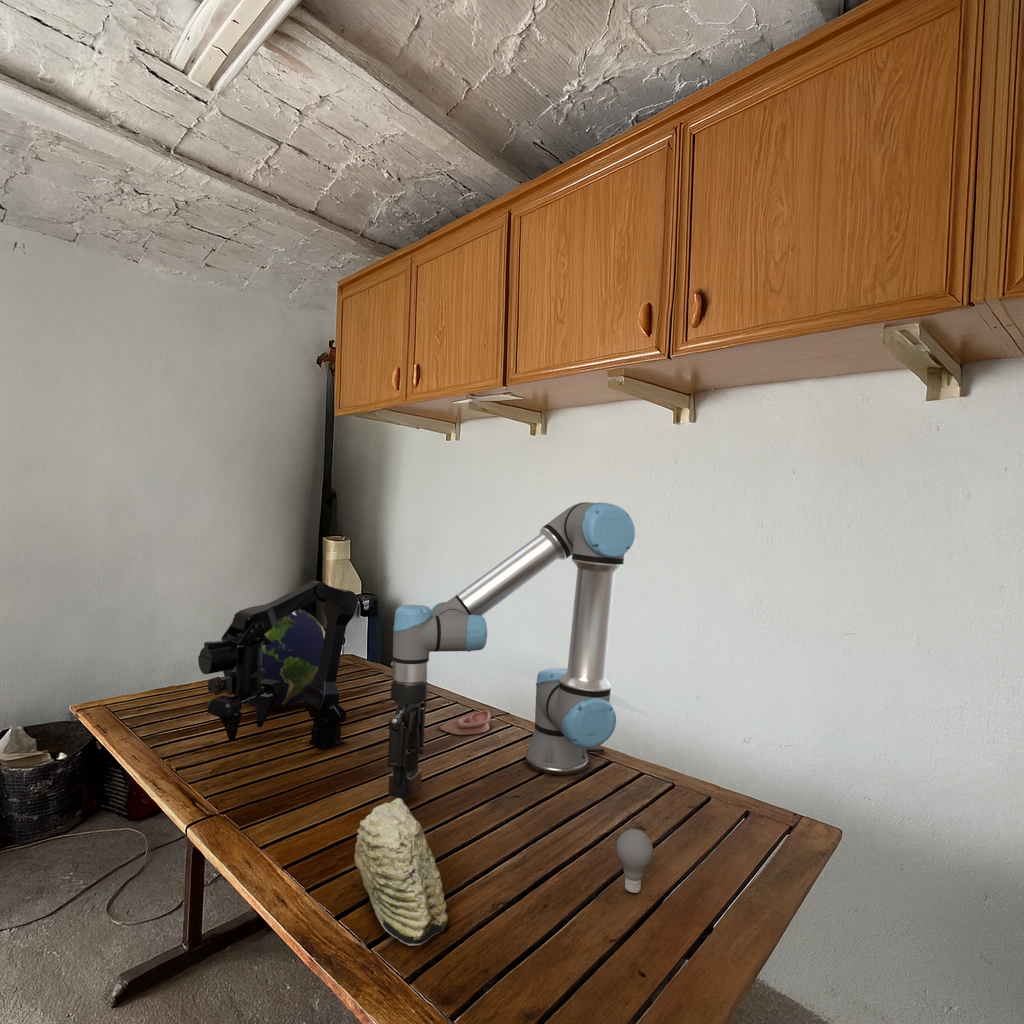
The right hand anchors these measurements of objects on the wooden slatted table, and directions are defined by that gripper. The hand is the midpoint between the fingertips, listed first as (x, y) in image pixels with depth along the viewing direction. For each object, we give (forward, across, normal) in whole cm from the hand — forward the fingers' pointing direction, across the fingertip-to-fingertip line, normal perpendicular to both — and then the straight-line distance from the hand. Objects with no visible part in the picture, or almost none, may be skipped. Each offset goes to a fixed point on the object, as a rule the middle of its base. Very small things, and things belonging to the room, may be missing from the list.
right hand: (404, 790), depth 132 cm
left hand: (-6, -2, -41) cm, 41 cm away
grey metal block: (0, 0, 0) cm, 0 cm away
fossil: (+3, +32, +14) cm, 35 cm away
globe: (+3, -41, -61) cm, 74 cm away
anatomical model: (+3, -46, -3) cm, 46 cm away
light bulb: (+3, +14, +48) cm, 50 cm away
